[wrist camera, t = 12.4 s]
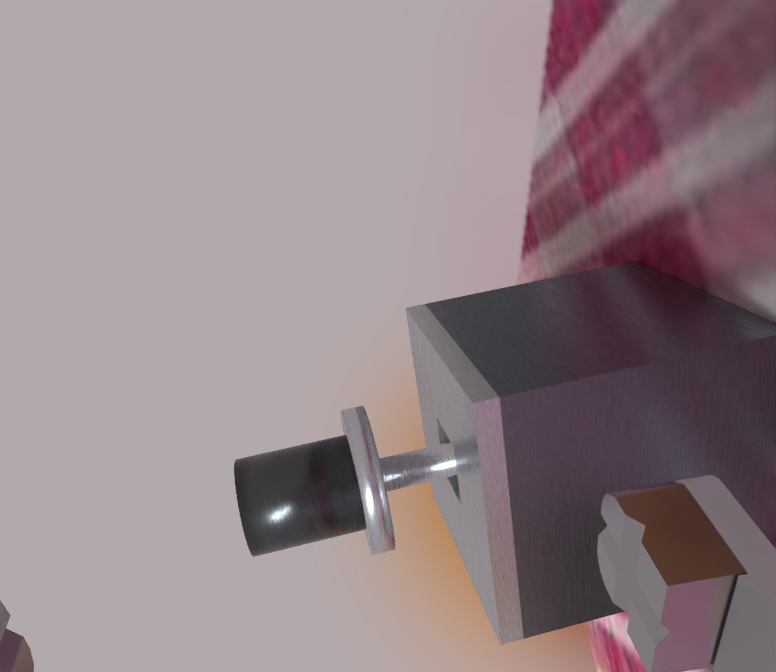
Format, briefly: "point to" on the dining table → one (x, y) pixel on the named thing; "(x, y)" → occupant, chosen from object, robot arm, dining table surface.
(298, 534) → the plunger
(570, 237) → the dining table surface
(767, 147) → the dining table surface
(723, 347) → the matte gray cube
